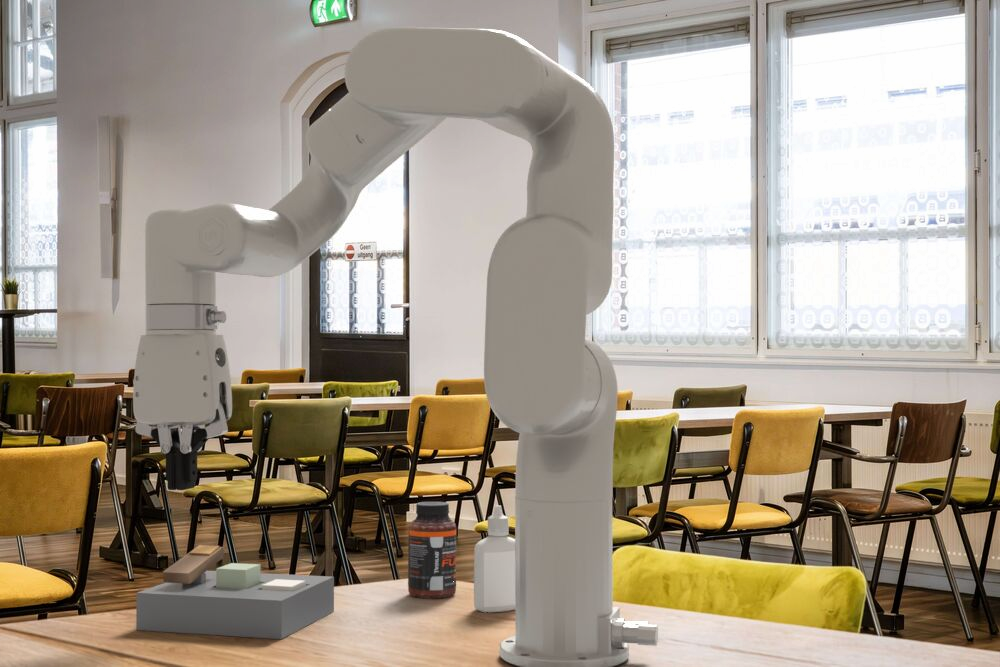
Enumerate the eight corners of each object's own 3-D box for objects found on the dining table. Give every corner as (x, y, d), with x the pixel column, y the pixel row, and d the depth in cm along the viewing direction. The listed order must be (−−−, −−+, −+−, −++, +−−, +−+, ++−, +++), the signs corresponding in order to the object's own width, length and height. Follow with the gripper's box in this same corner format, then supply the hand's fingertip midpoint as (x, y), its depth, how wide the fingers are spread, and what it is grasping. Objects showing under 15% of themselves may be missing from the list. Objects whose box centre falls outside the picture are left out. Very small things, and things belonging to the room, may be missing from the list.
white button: (305, 609, 135) (305, 580, 136) (292, 616, 132) (292, 586, 132) (276, 607, 136) (276, 579, 136) (261, 614, 133) (261, 585, 133)
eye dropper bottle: (522, 613, 139) (522, 507, 139) (473, 613, 139) (473, 508, 139) (522, 605, 144) (521, 503, 144) (474, 605, 144) (474, 503, 144)
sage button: (260, 592, 137) (260, 564, 137) (245, 599, 133) (245, 570, 133) (231, 591, 138) (231, 563, 138) (216, 597, 134) (216, 568, 134)
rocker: (224, 557, 141) (222, 545, 140) (189, 583, 133) (188, 571, 133) (198, 555, 141) (197, 544, 141) (163, 582, 134) (162, 570, 134)
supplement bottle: (449, 600, 146) (449, 506, 146) (402, 599, 147) (402, 505, 148) (461, 591, 152) (461, 500, 152) (415, 589, 153) (415, 499, 153)
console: (333, 611, 140) (333, 567, 140) (281, 639, 127) (281, 591, 127) (200, 604, 145) (200, 561, 145) (136, 630, 131) (136, 583, 131)
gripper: (258, 322, 136) (258, 486, 136) (139, 324, 140) (139, 484, 140) (226, 320, 129) (227, 494, 129) (101, 322, 133) (102, 491, 132)
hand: (181, 488), depth 134 cm, fingers closed
